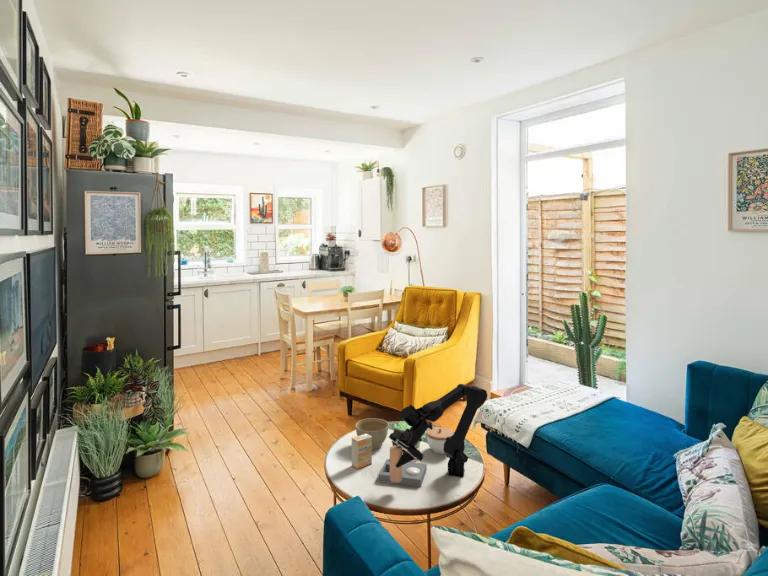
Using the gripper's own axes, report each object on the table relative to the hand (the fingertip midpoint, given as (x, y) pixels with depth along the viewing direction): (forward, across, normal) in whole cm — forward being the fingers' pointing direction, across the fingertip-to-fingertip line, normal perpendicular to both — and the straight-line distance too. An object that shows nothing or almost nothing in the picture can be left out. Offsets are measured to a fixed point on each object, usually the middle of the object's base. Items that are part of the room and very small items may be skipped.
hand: (393, 464), depth 188 cm
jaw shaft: (+4, 0, +6) cm, 7 cm away
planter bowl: (0, -42, +18) cm, 45 cm away
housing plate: (+1, -9, +16) cm, 18 cm away
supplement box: (+9, -27, +8) cm, 29 cm away
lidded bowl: (-19, -21, +36) cm, 46 cm away
